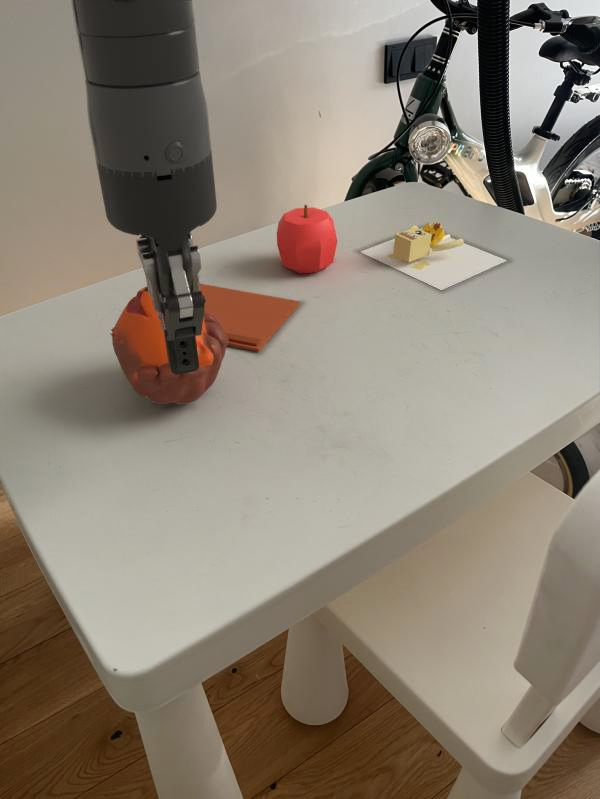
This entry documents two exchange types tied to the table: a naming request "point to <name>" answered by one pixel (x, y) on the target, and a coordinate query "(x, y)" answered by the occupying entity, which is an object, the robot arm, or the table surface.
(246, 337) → the book
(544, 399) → the table surface
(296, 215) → the apple
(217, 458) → the table surface
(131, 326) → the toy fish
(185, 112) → the robot arm
